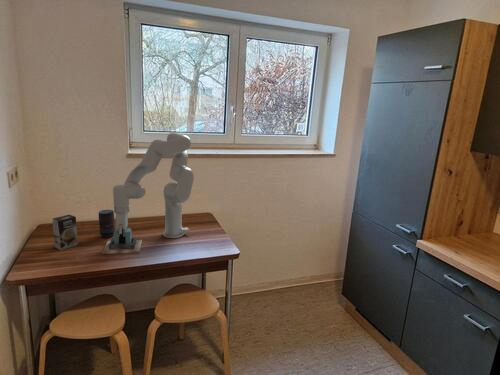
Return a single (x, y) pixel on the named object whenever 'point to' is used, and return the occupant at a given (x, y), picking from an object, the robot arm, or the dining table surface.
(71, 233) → the coffee box
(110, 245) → the keyed nest
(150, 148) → the robot arm
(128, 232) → the key block
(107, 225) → the camera lens
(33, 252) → the dining table surface
